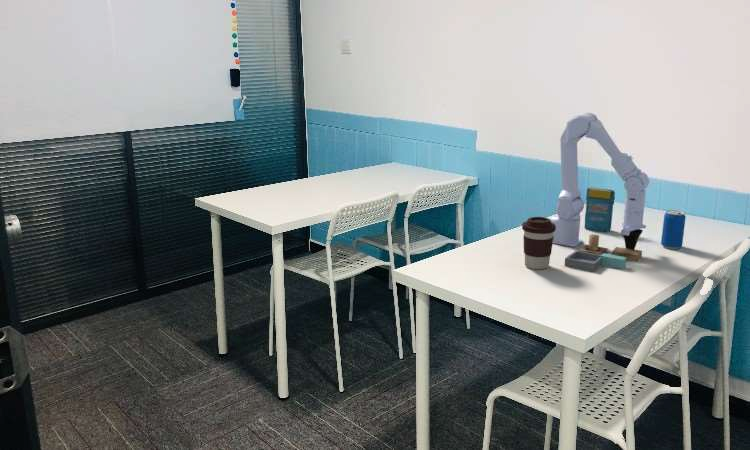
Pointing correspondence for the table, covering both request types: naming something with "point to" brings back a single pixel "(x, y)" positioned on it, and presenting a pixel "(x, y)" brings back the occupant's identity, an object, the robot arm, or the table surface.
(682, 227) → the beverage can
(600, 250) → the socket
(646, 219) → the table surface
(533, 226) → the coffee cup
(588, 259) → the tray
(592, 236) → the dowel
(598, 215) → the teal coffee bag
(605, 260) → the teal rectangular block
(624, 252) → the tan wooden slab
